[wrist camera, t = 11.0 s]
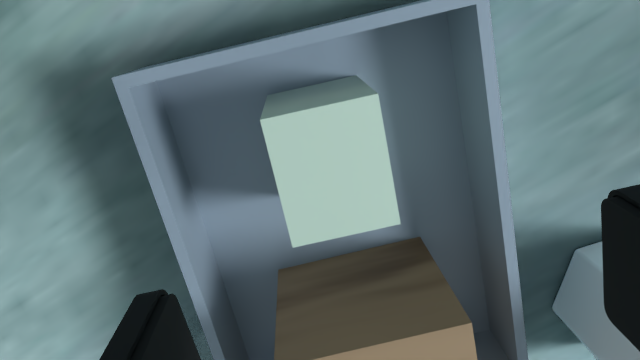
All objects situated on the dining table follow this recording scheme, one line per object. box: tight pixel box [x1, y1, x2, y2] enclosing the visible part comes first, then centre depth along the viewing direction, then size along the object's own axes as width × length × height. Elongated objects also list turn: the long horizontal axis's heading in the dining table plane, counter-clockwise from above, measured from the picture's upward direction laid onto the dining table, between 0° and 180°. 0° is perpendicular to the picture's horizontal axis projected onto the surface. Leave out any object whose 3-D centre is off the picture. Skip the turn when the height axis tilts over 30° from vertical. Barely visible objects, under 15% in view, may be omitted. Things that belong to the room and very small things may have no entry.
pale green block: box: [260, 75, 401, 248], centre depth 24 cm, size 6×5×7 cm
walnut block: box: [274, 237, 477, 360], centre depth 27 cm, size 7×9×9 cm
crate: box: [111, 0, 528, 360], centre depth 28 cm, size 22×17×5 cm
